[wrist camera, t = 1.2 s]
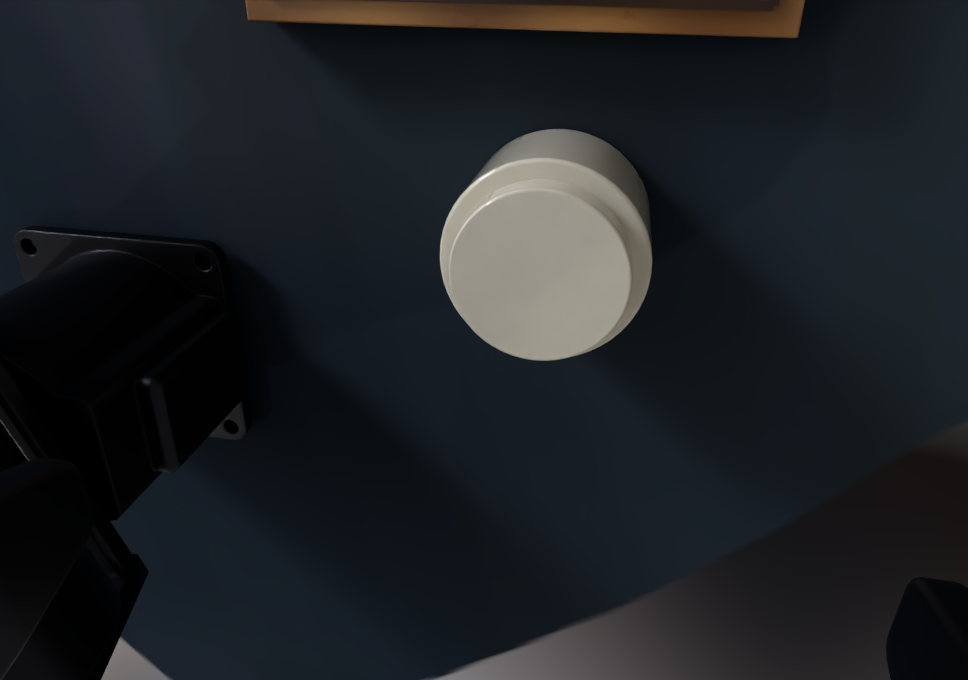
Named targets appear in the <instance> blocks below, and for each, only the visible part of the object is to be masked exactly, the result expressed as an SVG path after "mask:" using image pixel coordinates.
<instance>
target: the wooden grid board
mask: <svg viewBox="0 0 968 680" xmlns="http://www.w3.org/2000/svg"><path fill="white" fill-rule="evenodd" d="M245 2H246V10H247V18H248V21H256V22H288V23H320V24H352V25H384V26H416V27H448V28H479V29H511V30H543V31H575V32H607V33H639V34H671V35H703V36H735V37H767V38H797V37H798V35H799V30H800V25H801V19H802V14H803V9H804V4H805V0H245Z"/></svg>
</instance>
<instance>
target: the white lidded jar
mask: <svg viewBox="0 0 968 680" xmlns="http://www.w3.org/2000/svg"><path fill="white" fill-rule="evenodd" d="M440 268H441V273H442V278H443V282H444V285H445V287H446V290H447V293H448V295H449V297H450V299H451V301H452V303H453V305H454V307H455V308H456V309H457V311H458V312H459V314H460V315H461V317H462V318H463V319H464V320H465V321H466V323H467V324H468V325H469V326H470V327H471V329H472V330H473V331H474V332H475V333H476V334H477V335H478V336H480V337H481V338H482V339H483V340H484V341H486V342H487V343H489V344H490V345H491V346H493V347H495V348H497V349H499V350H500V351H503V352H505V353H507V354H510V355H513V356H516V357H520V358H524V359H530V360H541V361H548V360H559V359H564V358H568V357H572V356H577V355H580V354H583V353H586V352H589V351H591V350H593V349H595V348H598V347H600V346H602V345H603V344H605V343H606V342H608V341H610V340H611V339H613V338H614V337H615V336H616V335H618V334H619V333H620V332H621V331H622V330H623V329H624V328H625V327H626V326H627V325H628V324H629V323H630V322H631V321H632V319H633V318H634V316H635V315H636V314H637V312H638V311H639V309H640V307H641V305H642V303H643V301H644V299H645V297H646V294H647V291H648V288H649V284H650V280H651V275H652V238H651V217H650V205H649V201H648V196H647V193H646V190H645V187H644V185H643V182H642V180H641V178H640V177H639V175H638V173H637V171H636V170H635V168H634V167H633V166H632V164H631V163H630V162H629V161H628V160H627V159H626V158H625V157H624V156H623V155H622V153H621V152H619V151H618V150H617V149H615V148H614V147H613V146H611V145H610V144H608V143H607V142H605V141H603V140H601V139H600V138H597V137H595V136H592V135H590V134H587V133H583V132H579V131H576V130H567V129H548V130H541V131H536V132H533V133H529V134H526V135H524V136H521V137H519V138H517V139H515V140H513V141H511V142H510V143H508V144H507V145H505V146H504V147H502V148H501V149H500V150H499V151H497V152H496V153H495V154H494V155H493V156H492V157H491V158H490V159H489V161H488V162H487V163H486V164H485V165H484V167H483V168H482V169H481V170H480V172H479V173H478V174H477V175H476V177H475V178H474V179H473V180H472V182H471V183H470V184H469V185H468V187H467V188H466V189H465V190H464V192H463V193H462V194H461V195H460V197H459V198H458V200H457V201H456V203H455V204H454V205H453V207H452V209H451V211H450V213H449V215H448V217H447V219H446V222H445V225H444V228H443V232H442V237H441V242H440Z"/></svg>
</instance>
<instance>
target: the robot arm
mask: <svg viewBox="0 0 968 680" xmlns="http://www.w3.org/2000/svg"><path fill="white" fill-rule="evenodd" d="M31 241H33V242H34V243H35V245H36V247H37V249H36V248H35V247H34V246H33V244H32V242H31ZM13 244H14V248H15V251H16V255H17V258H18V262H19V265H20V268H21V272H22V275H23V278H24V282H25V284H23V285H21V286H19V287H17V288H15V289H13V290H11V291H9V292H7V293H5V294H3V295H1V296H0V680H101V678H102V676H103V674H104V672H105V669H106V667H107V665H108V663H109V660H110V658H111V656H112V654H113V651H114V649H115V646H116V645H117V642H118V640H119V638H120V636H121V633H122V631H123V629H124V627H125V624H126V622H127V620H128V618H129V615H130V613H131V611H132V609H133V606H134V604H135V602H136V600H137V597H138V595H139V593H140V591H141V588H142V586H143V584H144V582H145V579H146V577H147V575H148V569H147V568H146V566H145V565H144V563H143V562H142V560H141V559H140V557H139V556H138V555H137V554H132V553H131V552H130V550H129V549H128V547H127V546H126V544H125V543H124V541H123V540H122V538H121V537H120V535H119V534H118V532H117V531H116V529H115V528H114V526H113V525H112V523H111V522H110V520H117V519H118V518H119V517H120V516H121V515H122V514H123V513H124V512H125V511H126V510H127V509H128V508H129V507H130V505H131V504H132V503H133V502H134V501H135V500H136V499H137V498H138V497H139V496H140V495H141V494H142V493H143V492H144V491H145V490H146V489H147V488H148V487H149V486H150V484H151V483H152V482H153V481H154V480H155V479H156V478H157V477H158V476H159V475H160V474H161V473H162V472H168V473H173V472H175V471H176V470H177V469H178V468H179V467H180V466H181V465H182V464H183V463H184V462H185V461H186V460H187V459H188V458H189V457H190V456H191V455H192V454H193V452H194V451H195V450H196V449H197V448H198V447H199V446H200V445H201V444H202V443H203V442H204V441H205V439H206V438H207V437H215V438H223V439H230V440H239V439H241V438H243V437H244V436H245V435H246V433H247V432H248V431H249V430H250V428H251V426H252V420H251V413H250V407H249V401H248V393H249V391H250V386H249V380H248V373H247V367H246V361H245V354H244V348H243V341H242V335H241V328H240V322H239V320H238V318H237V317H236V315H235V312H234V305H233V299H232V293H231V286H230V280H229V274H228V267H227V261H226V257H225V254H224V252H223V250H222V249H221V248H220V247H219V246H218V245H217V244H215V243H214V242H210V241H206V240H194V239H182V238H170V237H158V236H146V235H135V234H123V233H111V232H99V231H87V230H75V229H64V228H52V227H40V226H31V227H27V228H25V229H22V230H20V231H18V232H17V233H16V234H15V235H14V238H13ZM202 254H204V255H206V256H207V257H208V258H209V260H210V262H211V266H210V265H207V264H206V263H205V262H204V261H203V259H202V257H201V256H202ZM230 420H232V421H234V422H235V423H236V424H237V425H238V426H235V425H234V424H233V423H231V421H230ZM886 645H887V646H886V652H887V653H886V654H887V662H888V668H889V673H890V678H891V680H968V588H967V587H965V586H964V585H962V584H960V583H957V582H953V581H945V580H939V579H930V578H923V577H919V578H915V579H913V580H911V582H909V584H908V585H907V587H906V589H905V592H904V594H903V597H902V600H901V602H900V605H899V607H898V610H897V613H896V615H895V618H894V620H893V623H892V626H891V628H890V631H889V634H888V637H887V644H886Z"/></svg>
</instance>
